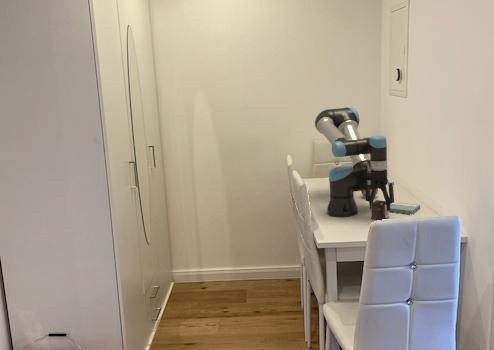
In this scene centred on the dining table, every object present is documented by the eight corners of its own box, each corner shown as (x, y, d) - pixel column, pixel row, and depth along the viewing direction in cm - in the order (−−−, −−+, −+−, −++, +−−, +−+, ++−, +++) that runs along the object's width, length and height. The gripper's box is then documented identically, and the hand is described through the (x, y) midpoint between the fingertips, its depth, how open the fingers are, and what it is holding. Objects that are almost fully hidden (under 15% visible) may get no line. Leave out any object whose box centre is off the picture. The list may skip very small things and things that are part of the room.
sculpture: (369, 179, 278) (381, 178, 263) (374, 195, 278) (386, 194, 263) (354, 184, 276) (365, 183, 261) (359, 200, 276) (370, 199, 261)
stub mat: (370, 219, 233) (370, 218, 233) (375, 215, 238) (375, 214, 238) (384, 220, 229) (384, 219, 229) (389, 217, 233) (389, 216, 233)
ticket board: (383, 211, 243) (383, 207, 242) (393, 205, 251) (392, 201, 251) (411, 215, 234) (411, 210, 234) (420, 208, 243) (420, 204, 242)
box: (376, 214, 237) (376, 199, 236) (388, 215, 233) (388, 201, 232) (371, 217, 233) (370, 203, 231) (383, 219, 229) (382, 204, 227)
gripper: (356, 169, 231) (358, 216, 236) (395, 171, 220) (396, 220, 224) (363, 166, 237) (364, 212, 242) (401, 168, 225) (402, 216, 230)
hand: (380, 216), depth 233 cm, fingers closed on box, 6 cm apart
